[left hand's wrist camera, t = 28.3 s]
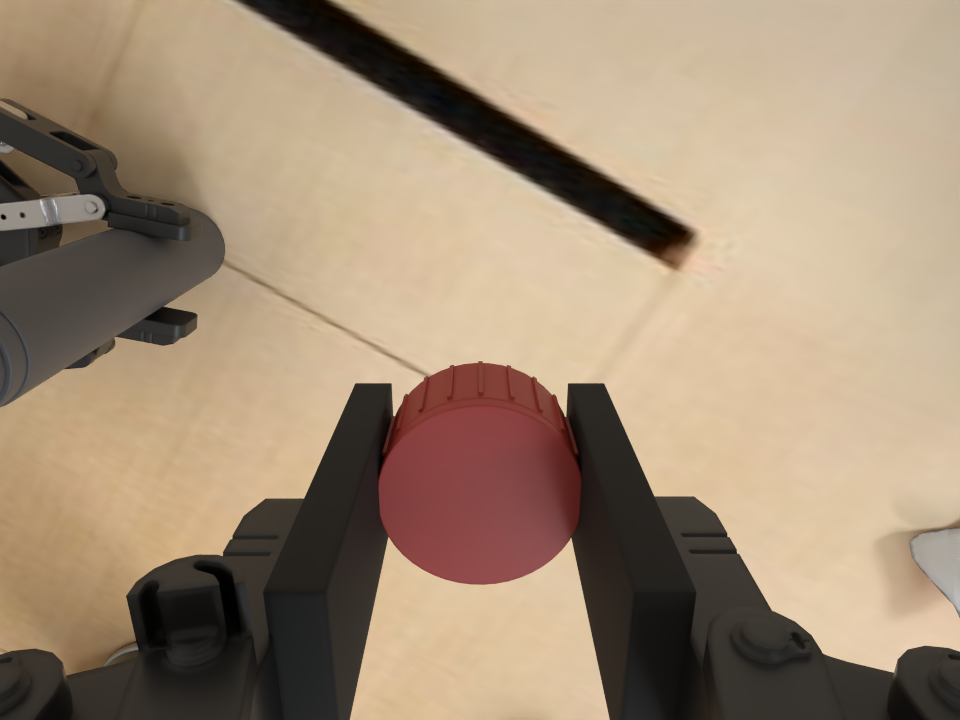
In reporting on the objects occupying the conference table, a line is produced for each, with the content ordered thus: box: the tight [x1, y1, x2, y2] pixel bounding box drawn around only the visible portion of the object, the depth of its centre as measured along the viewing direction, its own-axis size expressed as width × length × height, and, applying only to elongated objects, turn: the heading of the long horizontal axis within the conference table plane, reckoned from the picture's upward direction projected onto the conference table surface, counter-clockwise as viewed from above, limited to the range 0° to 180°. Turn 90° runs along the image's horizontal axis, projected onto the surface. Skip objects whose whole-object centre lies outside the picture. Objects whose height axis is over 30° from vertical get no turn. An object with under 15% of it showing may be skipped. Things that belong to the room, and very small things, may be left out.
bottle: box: [0, 208, 225, 407], centre depth 28 cm, size 4×4×24 cm
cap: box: [378, 361, 581, 585], centre depth 14 cm, size 4×4×2 cm
